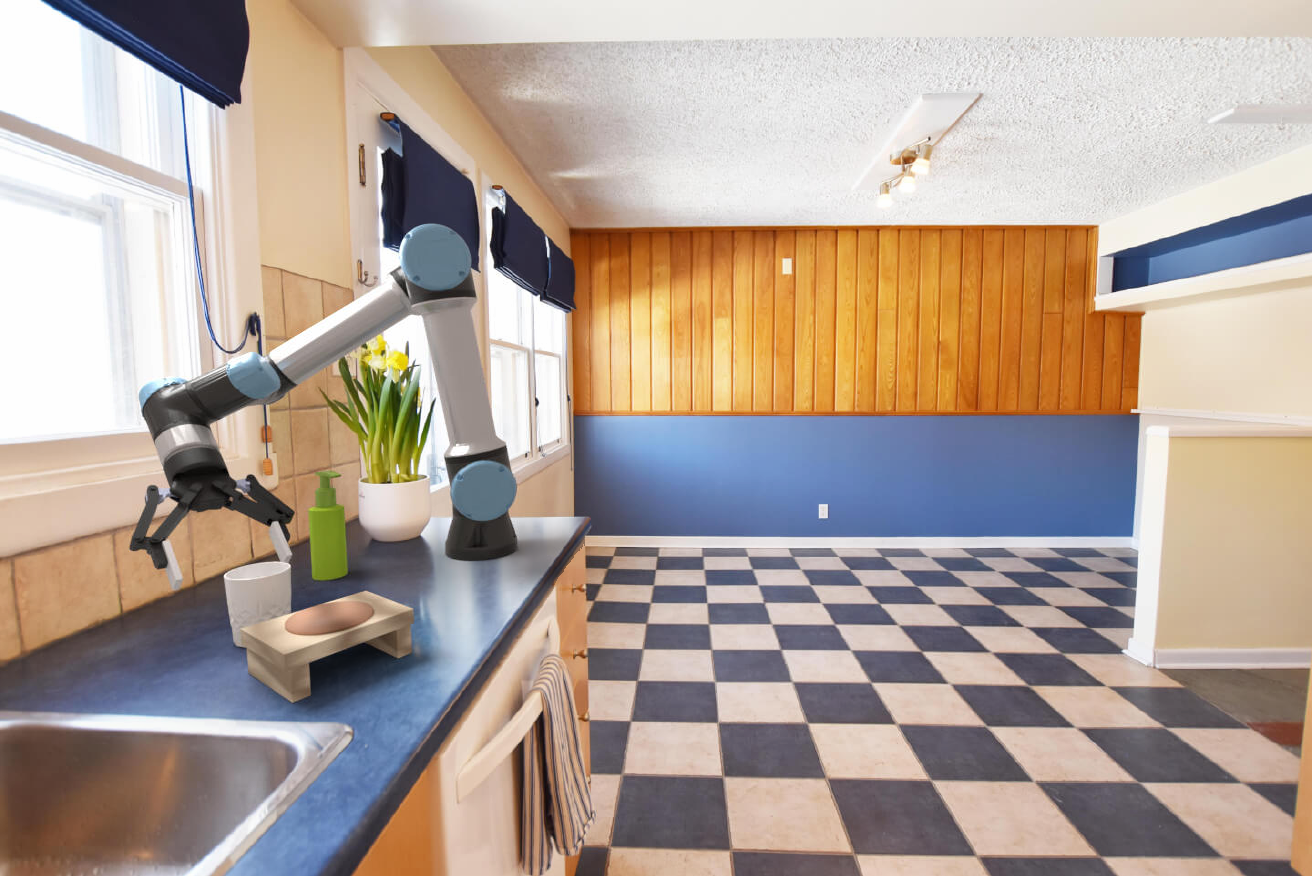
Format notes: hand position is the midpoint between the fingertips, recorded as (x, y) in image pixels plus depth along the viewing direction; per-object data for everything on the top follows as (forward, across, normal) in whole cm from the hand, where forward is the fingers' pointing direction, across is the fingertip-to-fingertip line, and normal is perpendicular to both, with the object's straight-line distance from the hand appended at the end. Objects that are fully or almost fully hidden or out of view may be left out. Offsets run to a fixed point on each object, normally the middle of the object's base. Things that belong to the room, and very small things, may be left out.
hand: (236, 572), depth 84 cm
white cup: (+10, -1, -3) cm, 11 cm away
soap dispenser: (-4, -20, -17) cm, 26 cm away
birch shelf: (+21, -3, +8) cm, 23 cm away
